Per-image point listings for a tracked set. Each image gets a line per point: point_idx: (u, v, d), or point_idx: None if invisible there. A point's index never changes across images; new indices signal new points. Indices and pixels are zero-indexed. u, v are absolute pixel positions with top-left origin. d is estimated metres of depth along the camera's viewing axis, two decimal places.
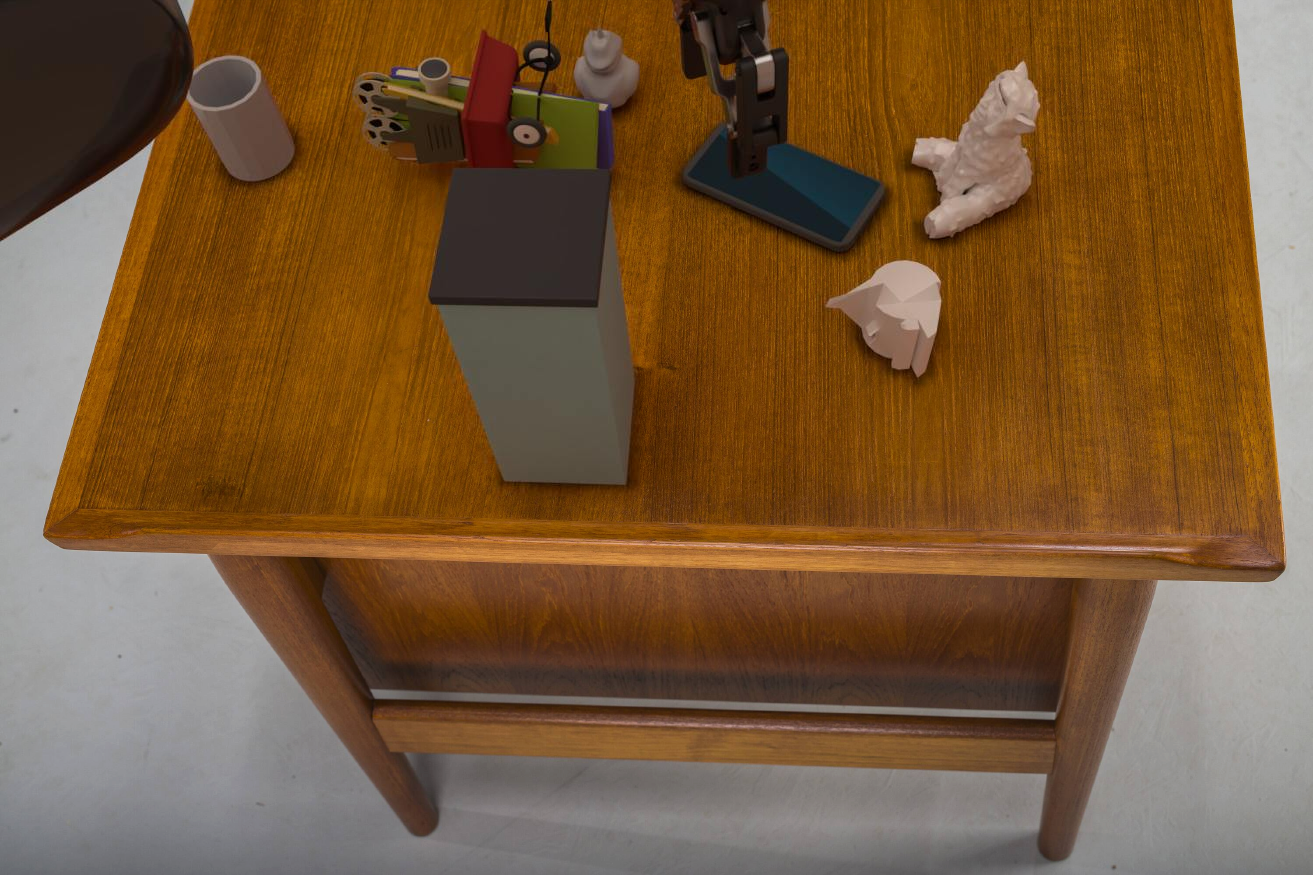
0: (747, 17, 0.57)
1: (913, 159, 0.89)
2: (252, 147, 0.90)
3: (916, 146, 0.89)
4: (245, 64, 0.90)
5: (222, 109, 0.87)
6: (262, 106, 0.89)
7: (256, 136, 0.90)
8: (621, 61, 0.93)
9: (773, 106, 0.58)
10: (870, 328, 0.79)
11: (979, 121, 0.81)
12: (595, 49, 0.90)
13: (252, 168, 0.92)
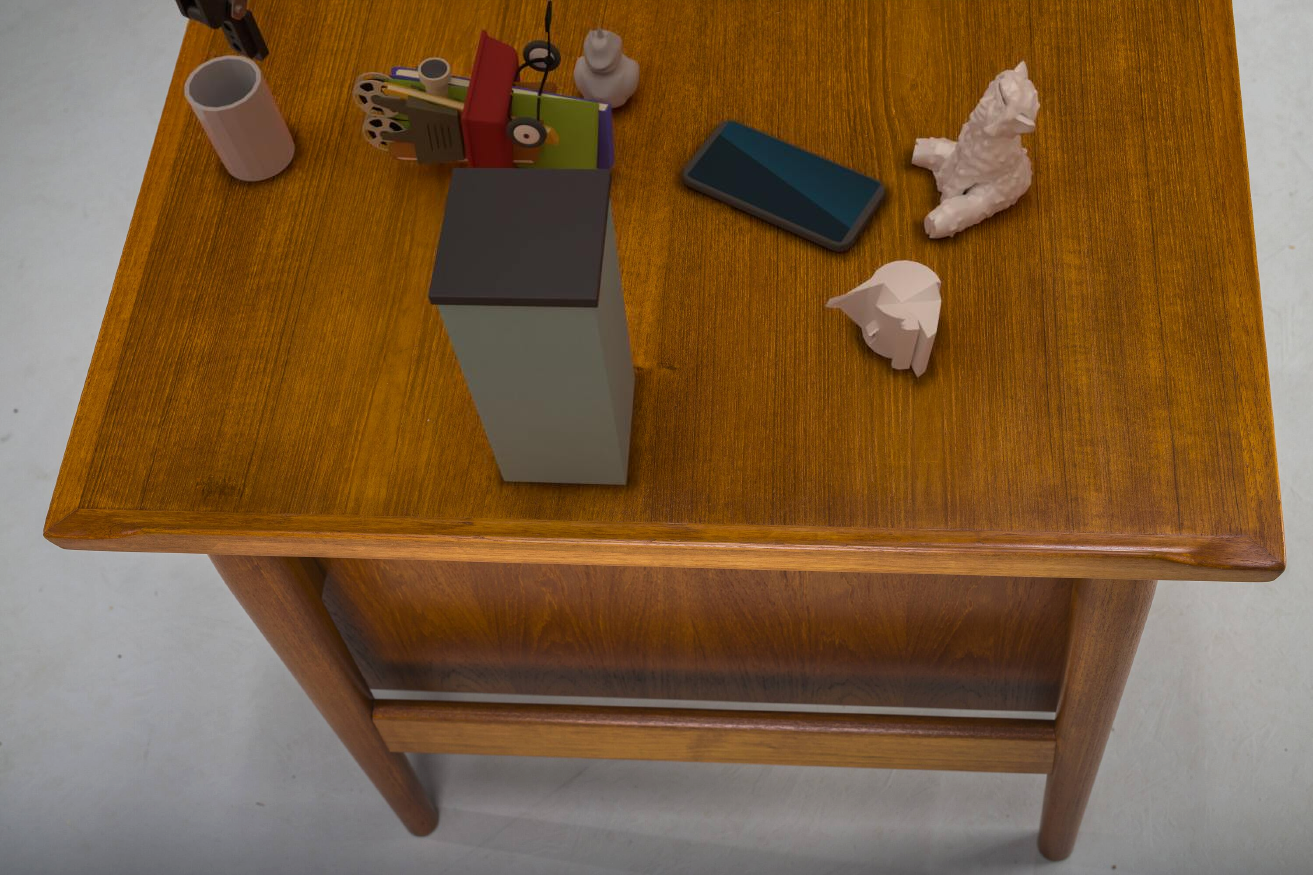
0: None
1: (913, 159, 0.89)
2: (252, 147, 0.90)
3: (916, 146, 0.89)
4: (245, 64, 0.90)
5: (222, 109, 0.87)
6: (262, 106, 0.89)
7: (256, 136, 0.90)
8: (621, 61, 0.93)
9: None
10: (870, 328, 0.79)
11: (979, 121, 0.81)
12: (595, 49, 0.90)
13: (252, 168, 0.92)
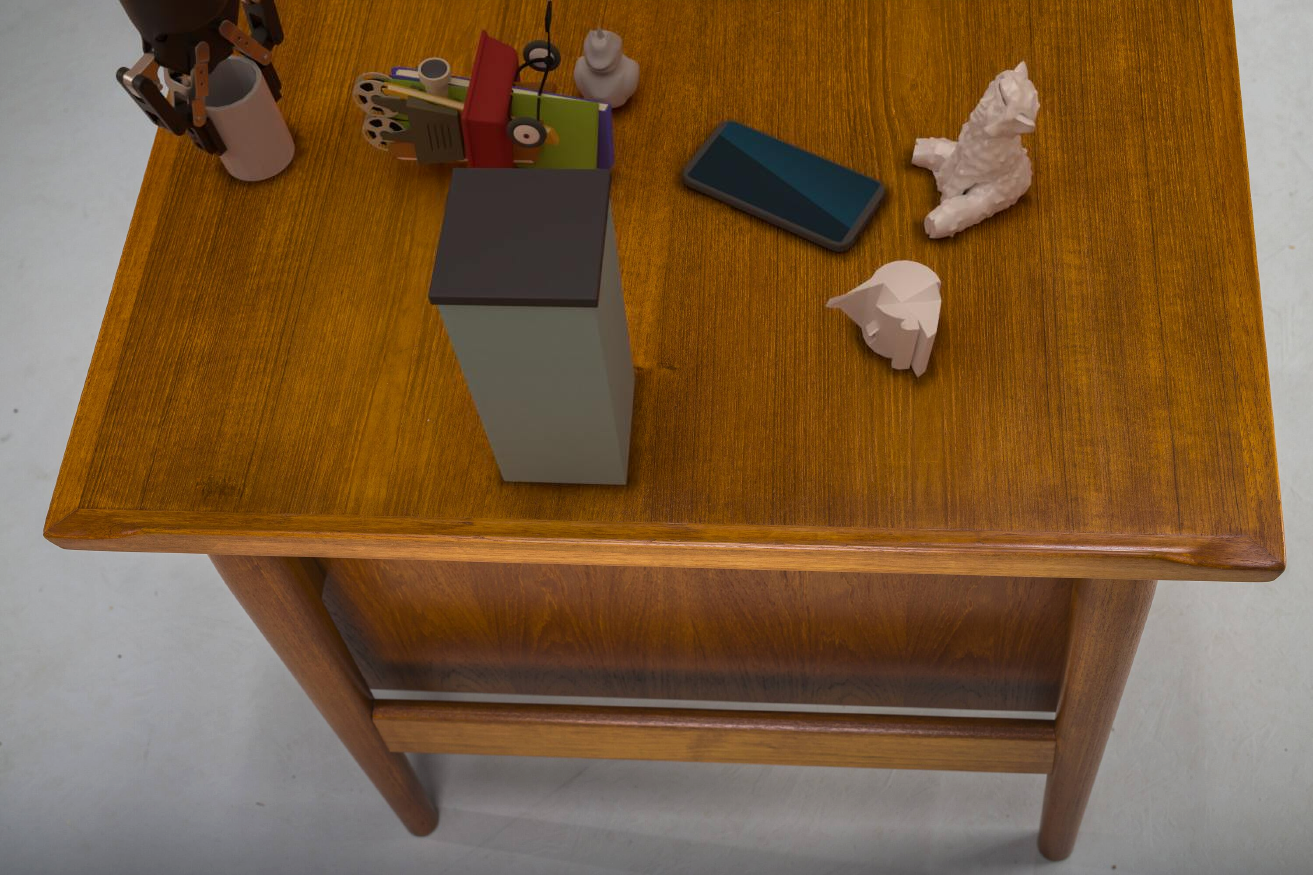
0: (150, 43, 0.81)
1: (913, 159, 0.89)
2: (252, 147, 0.90)
3: (916, 146, 0.89)
4: (245, 64, 0.90)
5: (222, 109, 0.87)
6: (262, 106, 0.89)
7: (256, 136, 0.90)
8: (621, 61, 0.93)
9: (150, 109, 0.83)
10: (870, 328, 0.79)
11: (979, 121, 0.81)
12: (595, 49, 0.90)
13: (252, 168, 0.92)
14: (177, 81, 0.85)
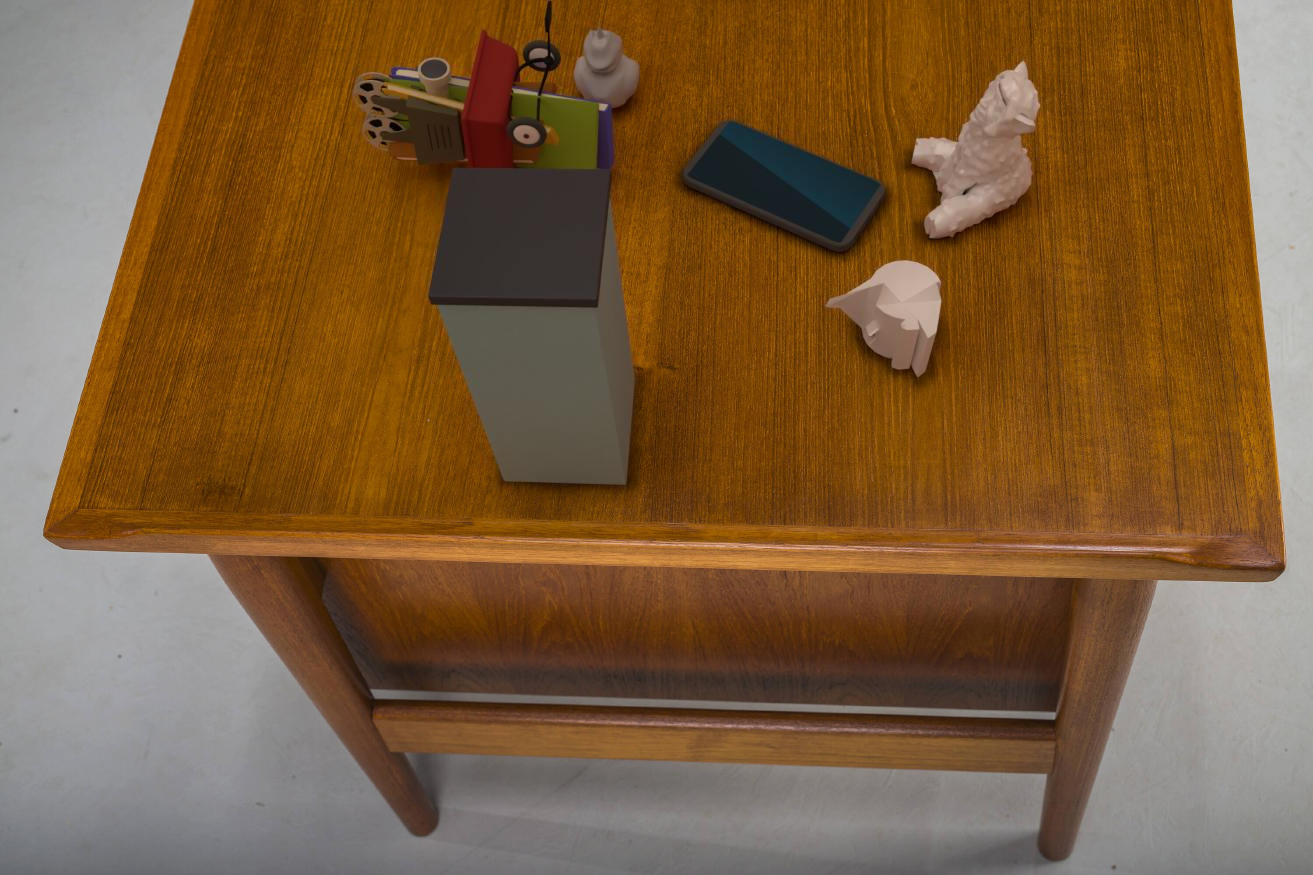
0: None
1: (913, 159, 0.89)
2: None
3: (916, 146, 0.89)
4: None
5: None
6: None
7: None
8: (621, 61, 0.93)
9: None
10: (870, 328, 0.79)
11: (979, 121, 0.81)
12: (595, 49, 0.90)
13: None
14: None
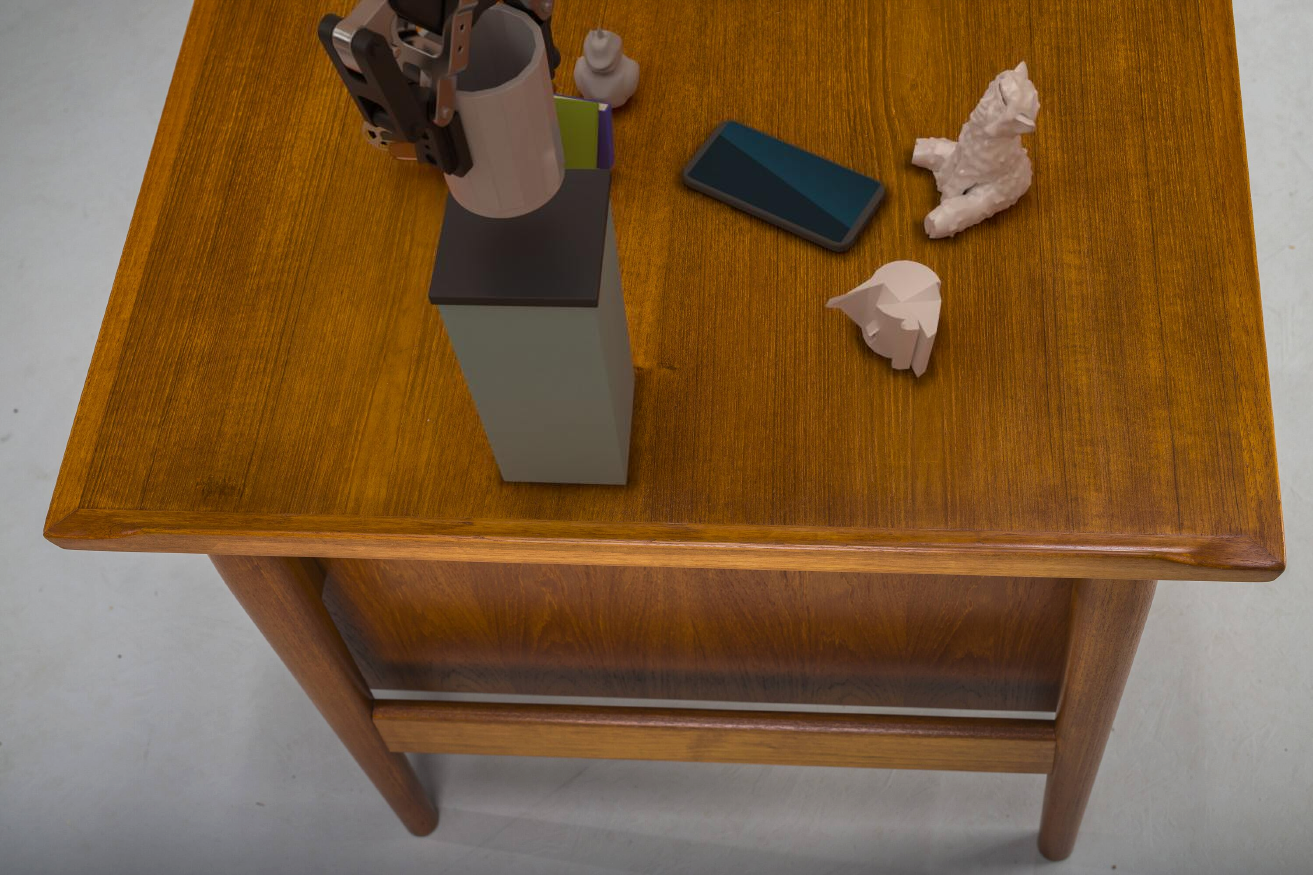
0: None
1: (913, 159, 0.89)
2: (515, 162, 0.53)
3: (916, 146, 0.89)
4: (508, 18, 0.52)
5: (484, 95, 0.49)
6: (543, 91, 0.51)
7: (525, 143, 0.52)
8: (621, 61, 0.93)
9: (372, 94, 0.45)
10: (870, 328, 0.79)
11: (979, 121, 0.81)
12: (595, 49, 0.90)
13: (507, 197, 0.54)
14: (412, 45, 0.47)
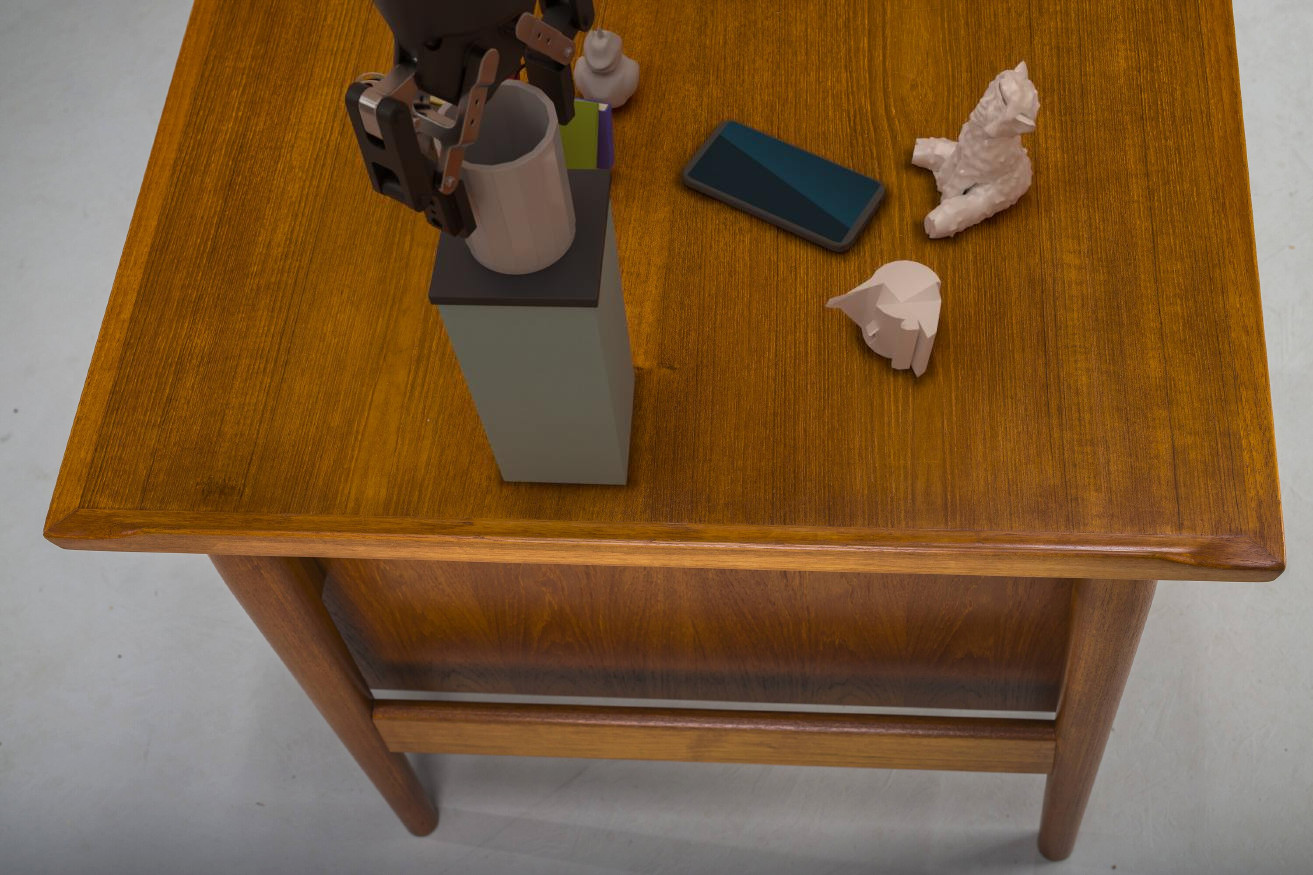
0: (411, 51, 0.46)
1: (913, 159, 0.89)
2: (530, 225, 0.57)
3: (916, 146, 0.89)
4: (523, 93, 0.56)
5: (502, 168, 0.53)
6: (556, 161, 0.55)
7: (540, 209, 0.56)
8: (621, 61, 0.93)
9: (388, 159, 0.48)
10: (870, 328, 0.79)
11: (979, 121, 0.81)
12: (595, 49, 0.90)
13: (522, 256, 0.58)
14: (426, 116, 0.50)
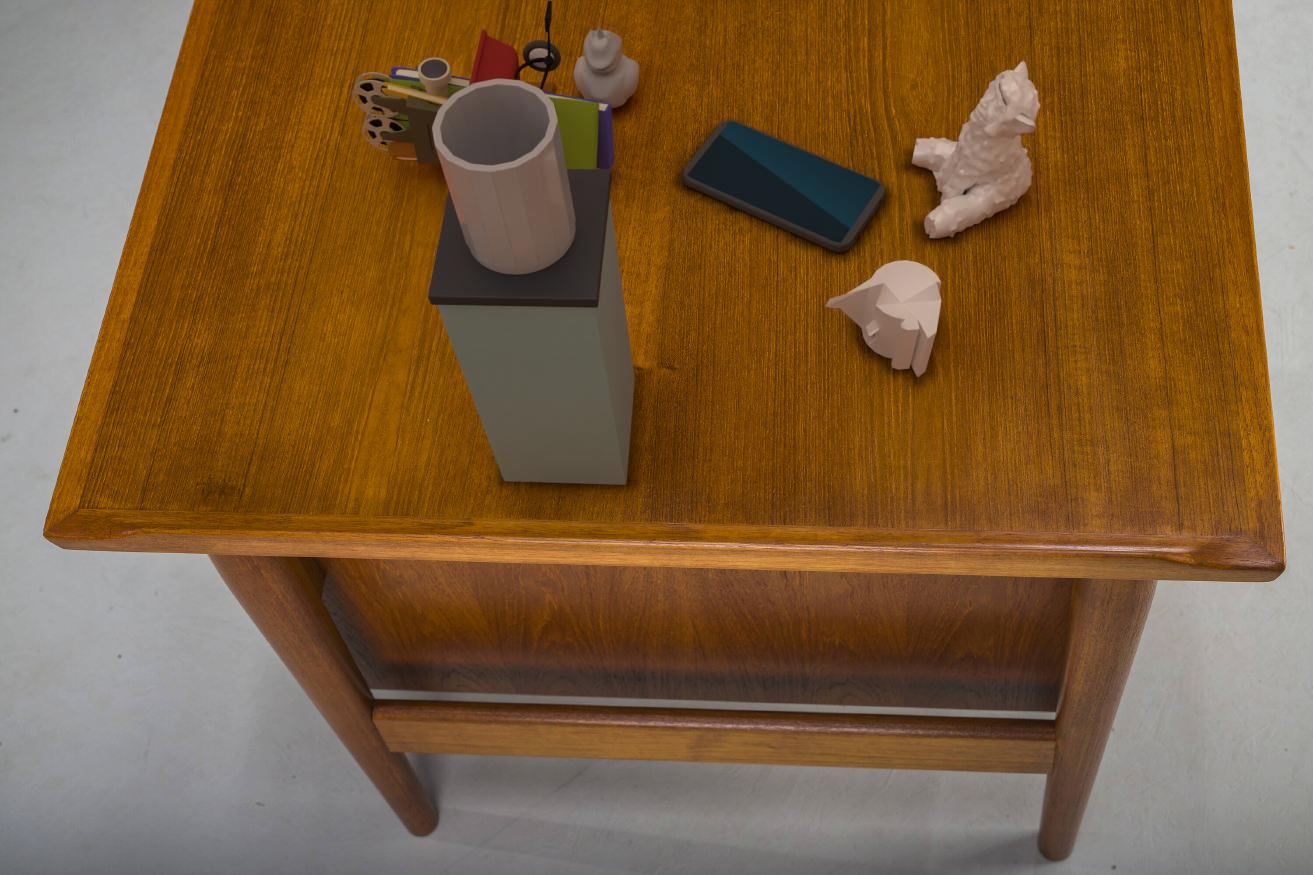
0: None
1: (913, 159, 0.89)
2: (530, 225, 0.57)
3: (916, 146, 0.89)
4: (523, 93, 0.56)
5: (502, 168, 0.53)
6: (556, 161, 0.55)
7: (540, 209, 0.56)
8: (621, 61, 0.93)
9: None
10: (870, 328, 0.79)
11: (979, 121, 0.81)
12: (595, 49, 0.90)
13: (522, 256, 0.58)
14: None
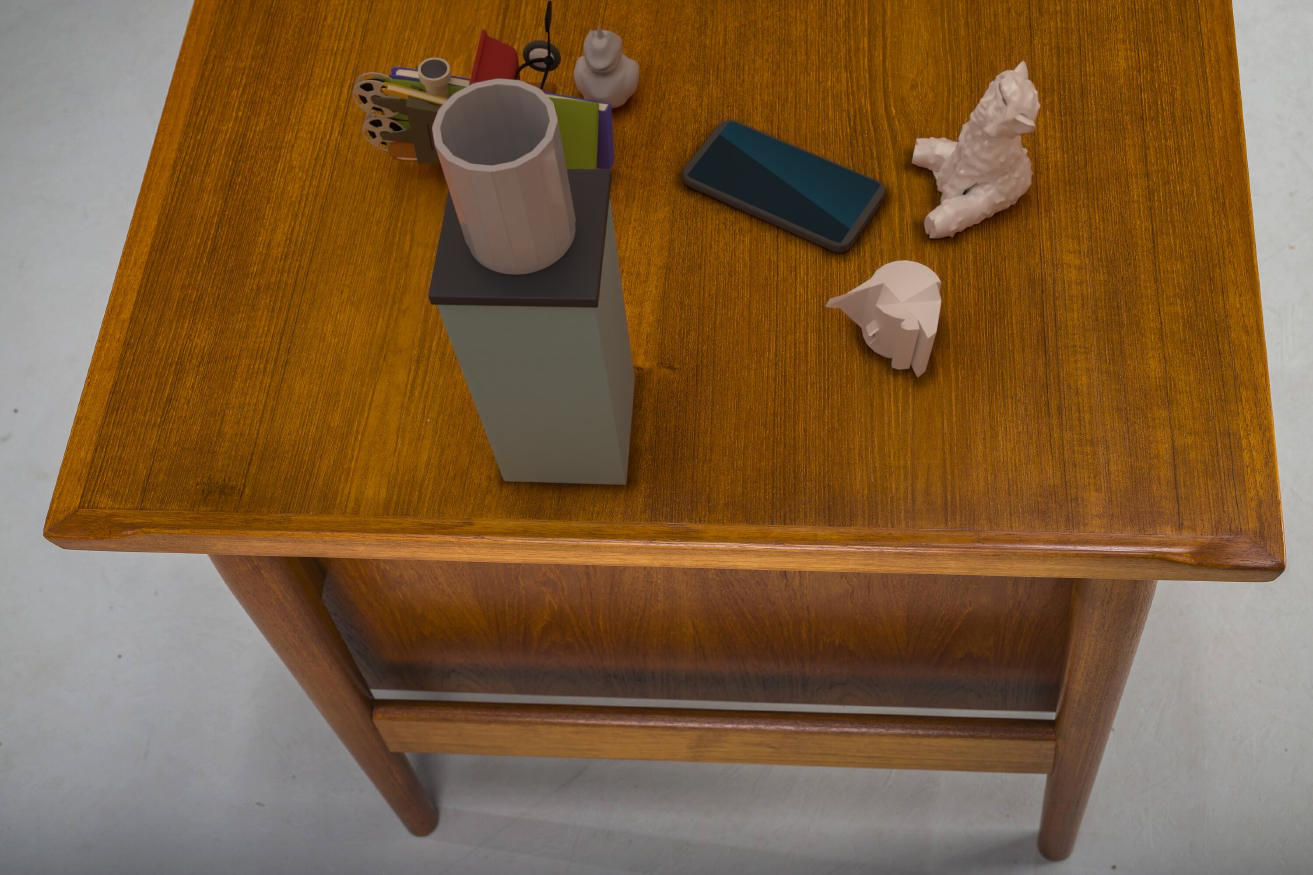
0: None
1: (913, 159, 0.89)
2: (530, 225, 0.57)
3: (916, 146, 0.89)
4: (523, 93, 0.56)
5: (502, 168, 0.53)
6: (556, 161, 0.55)
7: (540, 209, 0.56)
8: (621, 61, 0.93)
9: None
10: (870, 328, 0.79)
11: (979, 121, 0.81)
12: (595, 49, 0.90)
13: (522, 256, 0.58)
14: None
